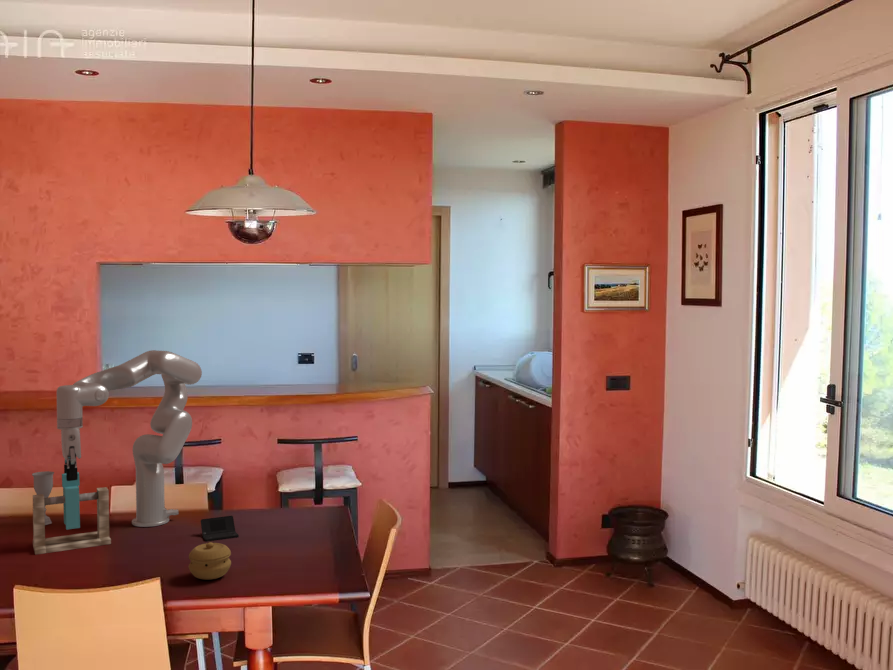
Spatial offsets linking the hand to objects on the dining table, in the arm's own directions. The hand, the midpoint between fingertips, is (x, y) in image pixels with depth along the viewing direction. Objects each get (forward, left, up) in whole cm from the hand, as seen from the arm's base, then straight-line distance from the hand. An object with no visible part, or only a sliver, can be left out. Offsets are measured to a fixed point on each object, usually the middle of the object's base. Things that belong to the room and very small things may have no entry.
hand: (70, 477), depth 258 cm
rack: (0, 0, -22) cm, 22 cm away
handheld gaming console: (-44, +15, -22) cm, 52 cm away
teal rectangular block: (0, 0, -16) cm, 16 cm away
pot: (-31, +54, -22) cm, 66 cm away
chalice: (+6, -32, -22) cm, 39 cm away
